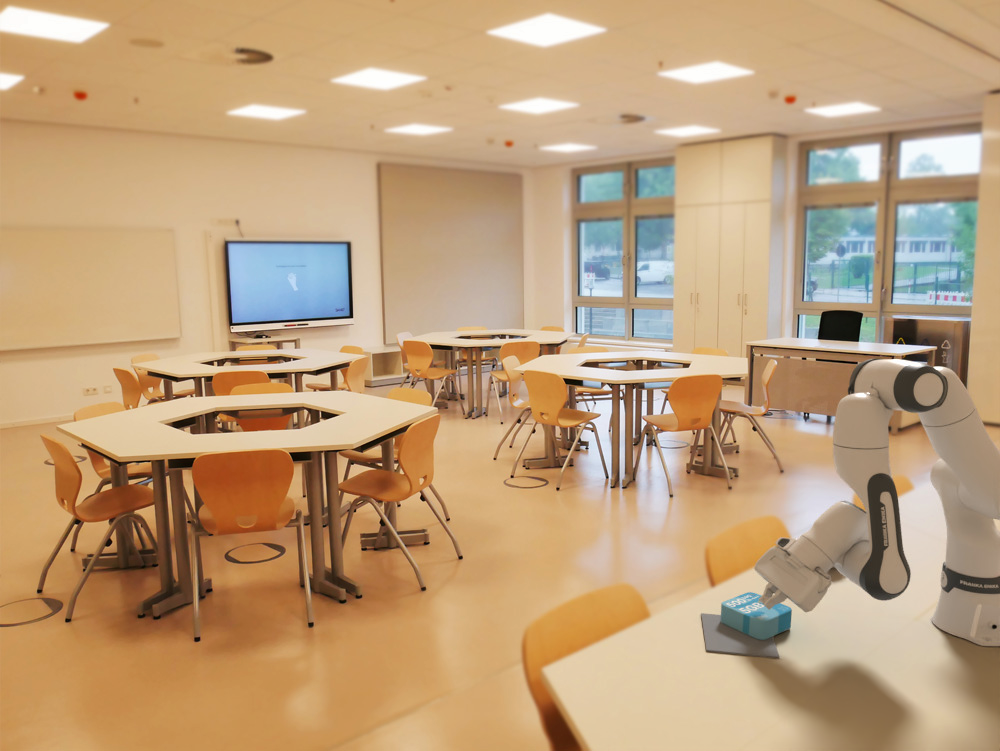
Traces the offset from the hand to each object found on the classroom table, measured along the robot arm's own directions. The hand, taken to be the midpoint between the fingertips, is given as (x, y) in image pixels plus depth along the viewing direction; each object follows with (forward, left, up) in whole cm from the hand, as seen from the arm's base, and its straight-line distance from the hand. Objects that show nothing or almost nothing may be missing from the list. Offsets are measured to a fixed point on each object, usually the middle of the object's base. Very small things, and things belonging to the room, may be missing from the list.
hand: (763, 604), depth 168 cm
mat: (+5, -3, -9) cm, 11 cm away
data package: (-4, -5, -6) cm, 9 cm away
